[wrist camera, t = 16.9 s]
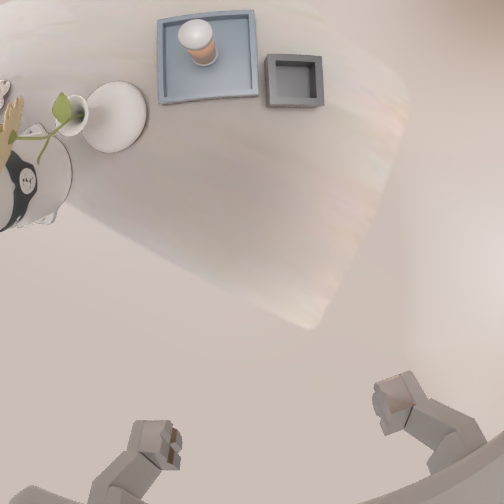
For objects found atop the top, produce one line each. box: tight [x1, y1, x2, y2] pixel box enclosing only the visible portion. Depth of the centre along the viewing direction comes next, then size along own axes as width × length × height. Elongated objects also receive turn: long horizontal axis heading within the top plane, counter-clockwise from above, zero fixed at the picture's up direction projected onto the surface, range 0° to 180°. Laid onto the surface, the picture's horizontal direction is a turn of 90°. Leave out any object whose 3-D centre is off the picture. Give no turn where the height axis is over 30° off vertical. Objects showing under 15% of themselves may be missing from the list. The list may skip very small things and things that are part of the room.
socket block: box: [264, 54, 324, 108], centre depth 35 cm, size 7×7×4 cm
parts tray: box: [157, 10, 259, 105], centre depth 33 cm, size 14×14×2 cm
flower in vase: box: [0, 81, 147, 174], centre depth 26 cm, size 13×11×25 cm
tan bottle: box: [178, 19, 218, 67], centre depth 29 cm, size 4×4×11 cm
